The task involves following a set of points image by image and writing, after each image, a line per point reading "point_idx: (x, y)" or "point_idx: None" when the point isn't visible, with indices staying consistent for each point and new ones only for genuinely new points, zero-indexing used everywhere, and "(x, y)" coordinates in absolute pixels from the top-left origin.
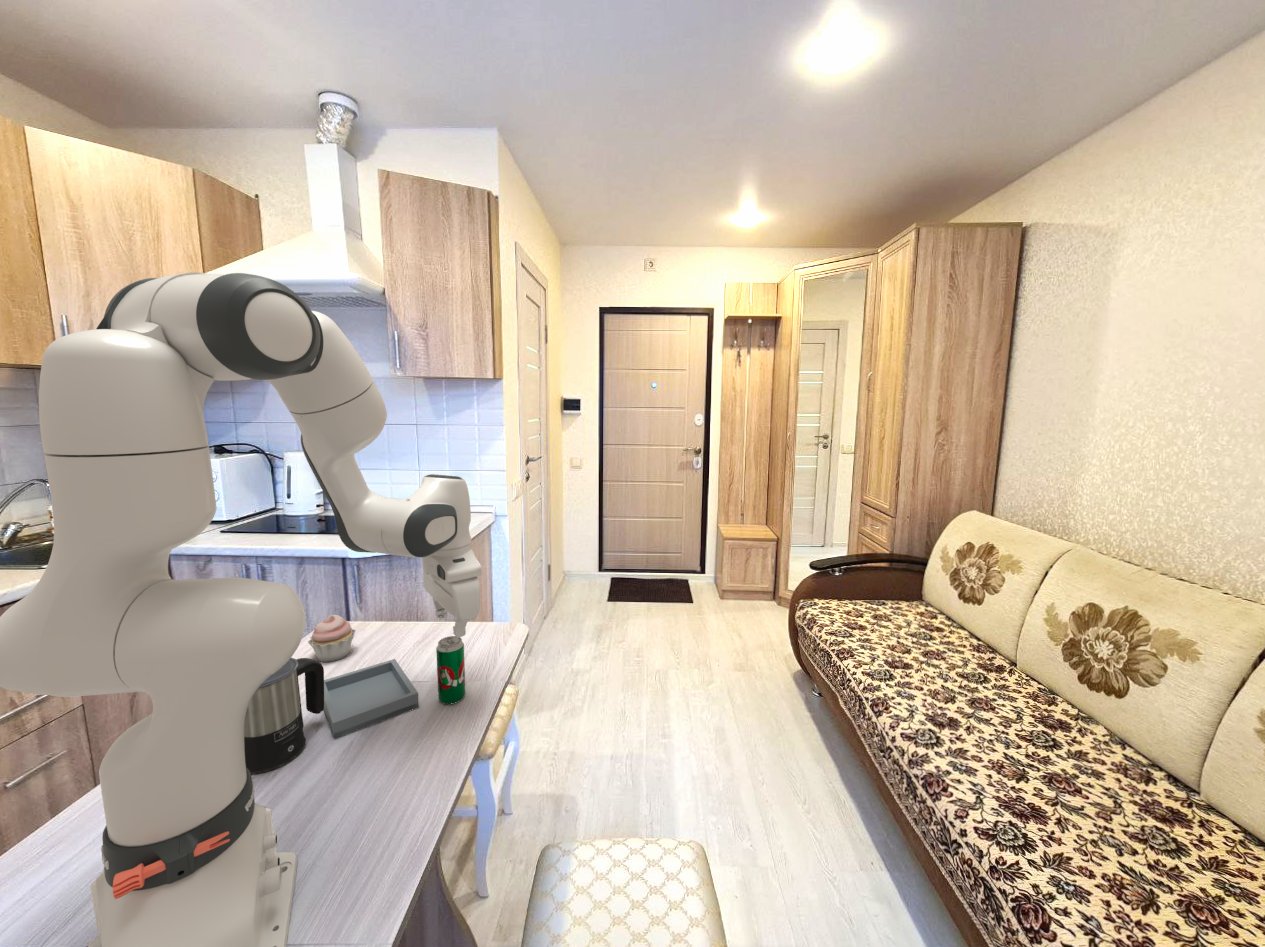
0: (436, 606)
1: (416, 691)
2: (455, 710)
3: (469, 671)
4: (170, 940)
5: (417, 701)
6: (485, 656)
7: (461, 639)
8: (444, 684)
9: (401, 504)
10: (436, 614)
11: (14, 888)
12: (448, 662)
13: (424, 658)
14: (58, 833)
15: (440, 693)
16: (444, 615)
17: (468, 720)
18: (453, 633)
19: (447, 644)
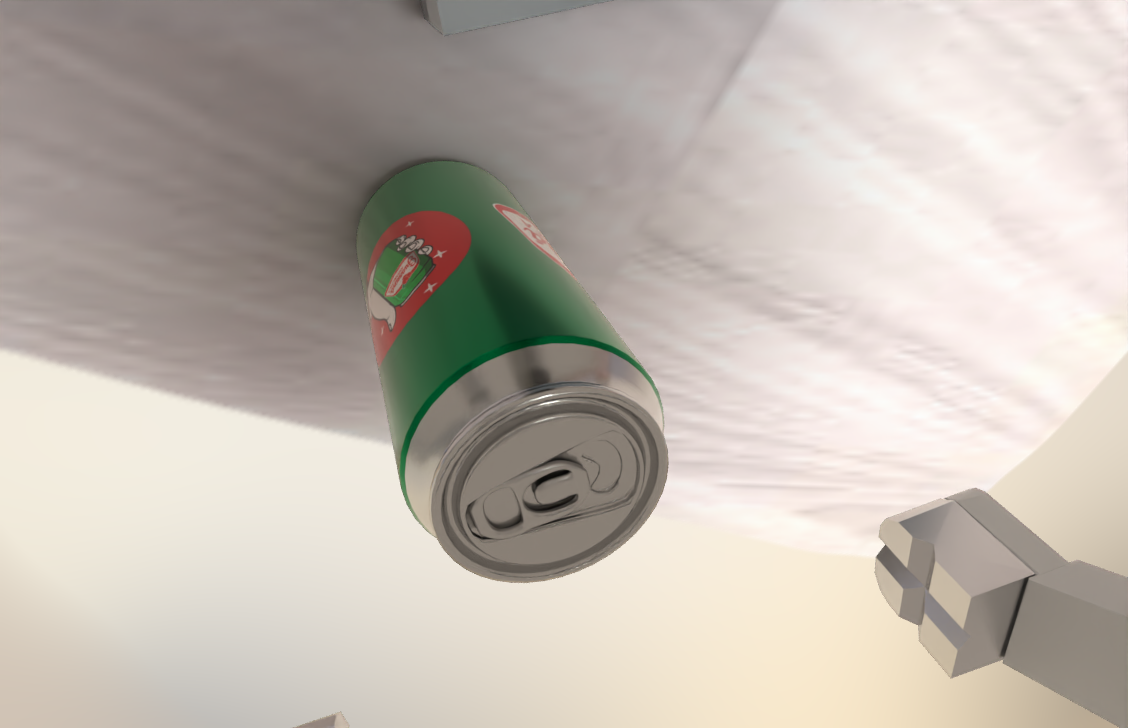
0: (1091, 611)
1: (472, 25)
2: (289, 245)
3: (670, 346)
4: None
5: (429, 17)
6: (762, 426)
7: (535, 581)
8: (385, 251)
9: None
10: (984, 518)
11: None
12: (390, 382)
13: (964, 118)
14: None
15: (408, 192)
16: (899, 590)
17: (141, 309)
18: (331, 725)
19: (488, 476)
